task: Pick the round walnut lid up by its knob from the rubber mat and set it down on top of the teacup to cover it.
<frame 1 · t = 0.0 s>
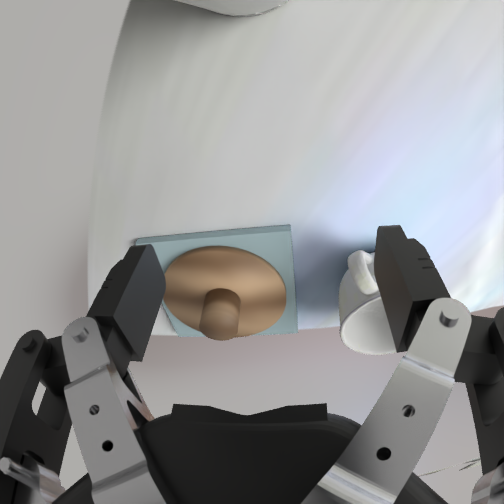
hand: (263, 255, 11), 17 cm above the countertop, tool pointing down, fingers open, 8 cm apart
teacup: (374, 262, 34), on the countertop
mat: (224, 288, 37), on the countertop
lid: (223, 294, 36), point 1 cm above the countertop, touching mat
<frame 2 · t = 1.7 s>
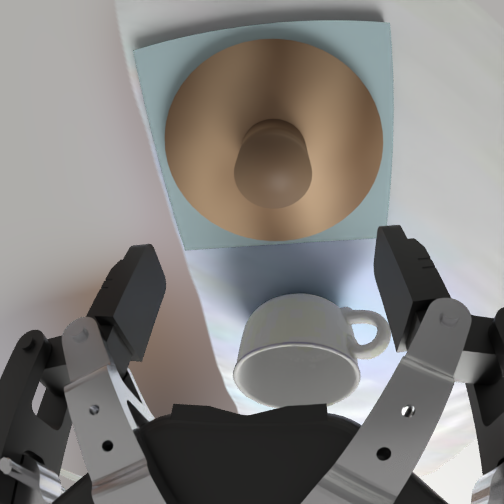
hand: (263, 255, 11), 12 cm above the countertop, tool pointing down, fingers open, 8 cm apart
teacup: (311, 309, 31), on the countertop
mat: (274, 139, 21), on the countertop
lid: (274, 144, 20), point 1 cm above the countertop, touching mat
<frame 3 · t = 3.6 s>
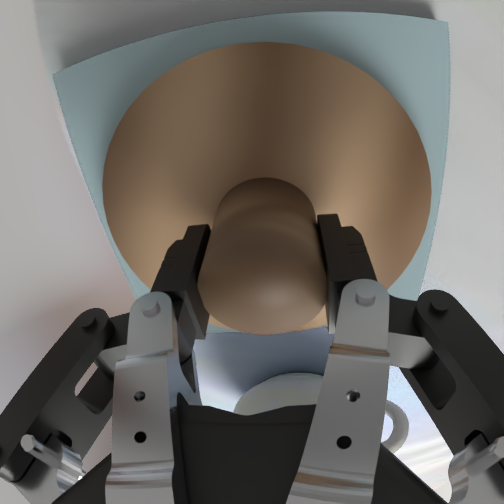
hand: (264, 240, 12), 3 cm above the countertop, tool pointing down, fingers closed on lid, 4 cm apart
teacup: (313, 383, 25), on the countertop
mat: (266, 199, 15), on the countertop
lid: (266, 210, 14), point 1 cm above the countertop, touching gripper, mat
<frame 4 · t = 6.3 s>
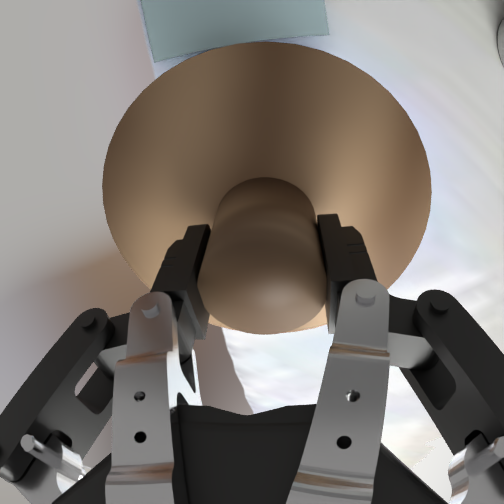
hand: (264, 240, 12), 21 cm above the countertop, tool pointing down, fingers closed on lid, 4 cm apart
lid: (266, 210, 14), point 19 cm above the countertop, touching gripper
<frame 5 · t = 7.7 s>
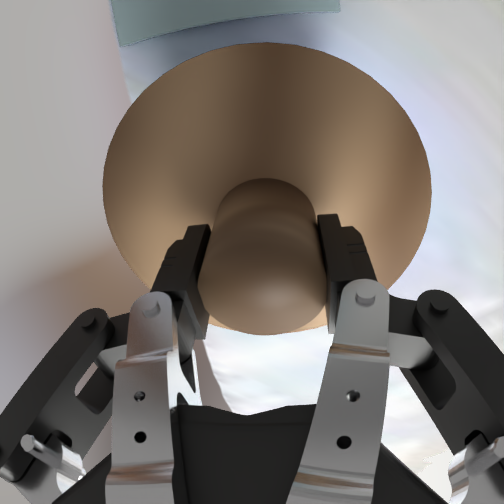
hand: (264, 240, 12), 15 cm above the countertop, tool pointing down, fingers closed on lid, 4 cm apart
lid: (266, 210, 14), point 13 cm above the countertop, touching gripper
when the fingers open (12 cm above the countertop, at t = 9.0 s): lid drops 2 cm, resting on teacup.
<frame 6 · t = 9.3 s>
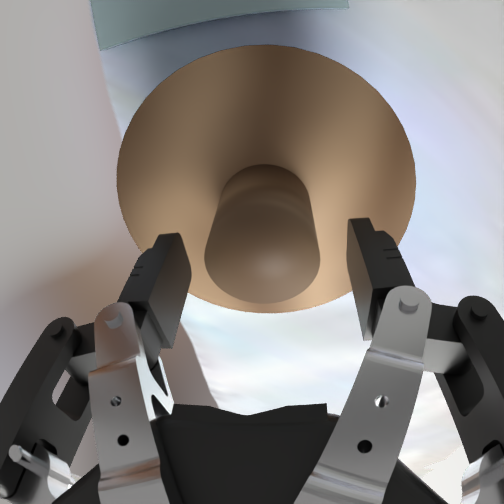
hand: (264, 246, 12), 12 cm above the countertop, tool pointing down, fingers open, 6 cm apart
lid: (265, 195, 15), point 8 cm above the countertop, touching teacup
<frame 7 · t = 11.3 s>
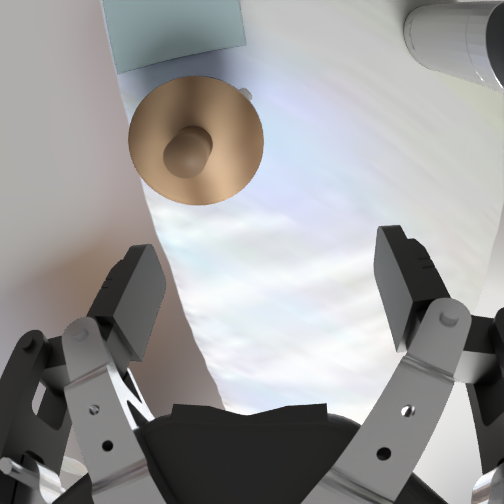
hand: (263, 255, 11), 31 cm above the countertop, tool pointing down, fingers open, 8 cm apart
lid: (195, 141, 32), point 8 cm above the countertop, touching teacup
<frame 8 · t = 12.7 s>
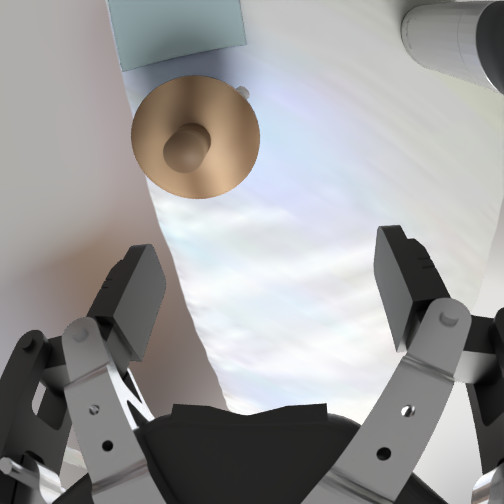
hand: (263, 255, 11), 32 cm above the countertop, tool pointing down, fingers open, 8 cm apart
mat: (172, 0, 29), on the countertop
lid: (194, 138, 33), point 8 cm above the countertop, touching teacup
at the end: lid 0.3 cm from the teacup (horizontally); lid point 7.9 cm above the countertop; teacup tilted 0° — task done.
